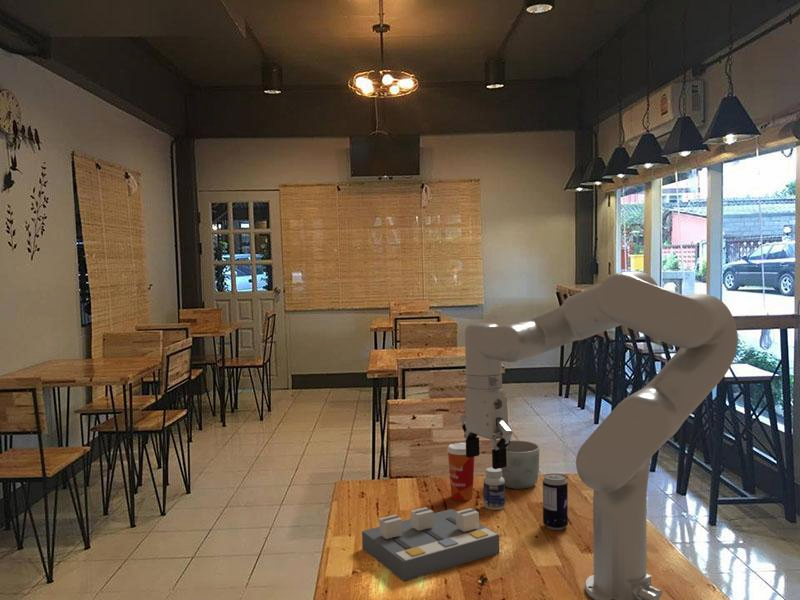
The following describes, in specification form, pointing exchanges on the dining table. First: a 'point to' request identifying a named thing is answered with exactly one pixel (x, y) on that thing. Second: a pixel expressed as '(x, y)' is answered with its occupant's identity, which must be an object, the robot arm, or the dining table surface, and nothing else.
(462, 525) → the slider
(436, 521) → the console
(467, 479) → the paper cup
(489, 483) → the pill bottle
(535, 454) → the planter
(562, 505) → the beverage can
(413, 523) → the slider
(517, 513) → the dining table surface
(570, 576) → the dining table surface
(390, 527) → the slider
